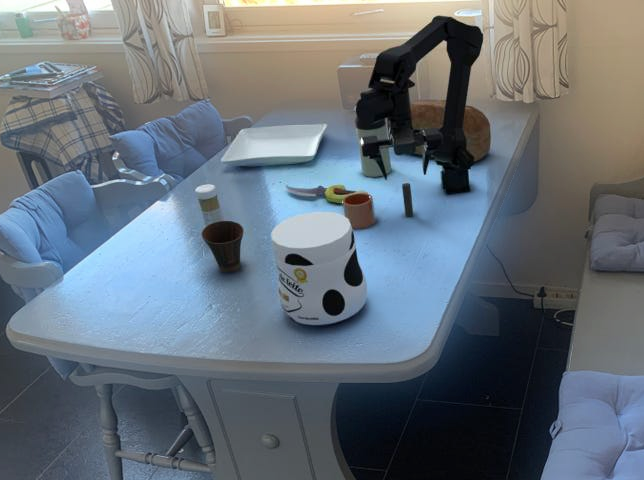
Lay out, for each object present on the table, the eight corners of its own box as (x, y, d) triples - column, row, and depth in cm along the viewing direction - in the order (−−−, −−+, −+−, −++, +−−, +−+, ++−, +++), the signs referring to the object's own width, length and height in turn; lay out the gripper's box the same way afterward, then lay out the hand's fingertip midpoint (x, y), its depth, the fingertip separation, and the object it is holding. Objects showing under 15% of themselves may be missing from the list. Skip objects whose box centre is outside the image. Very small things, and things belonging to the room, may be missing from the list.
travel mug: (396, 172, 208) (389, 106, 197) (371, 180, 205) (362, 113, 194) (382, 163, 213) (373, 99, 203) (357, 171, 210) (347, 106, 199)
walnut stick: (412, 213, 186) (409, 182, 182) (414, 216, 185) (410, 185, 180) (404, 214, 186) (401, 183, 181) (405, 217, 185) (402, 186, 180)
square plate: (317, 167, 215) (314, 154, 212) (222, 173, 216) (218, 160, 214) (329, 133, 236) (327, 121, 234) (243, 139, 238) (240, 127, 235)
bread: (414, 139, 227) (409, 91, 218) (497, 152, 214) (495, 101, 206) (391, 154, 219) (385, 104, 210) (476, 168, 206) (473, 115, 198)
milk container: (267, 327, 149) (246, 245, 139) (310, 283, 162) (294, 205, 151) (345, 340, 144) (330, 256, 133) (383, 293, 156) (372, 213, 146)
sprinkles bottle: (226, 234, 184) (212, 182, 176) (231, 241, 181) (216, 188, 173) (207, 239, 183) (193, 186, 175) (211, 246, 179) (196, 193, 171)
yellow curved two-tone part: (275, 198, 199) (360, 207, 191) (273, 189, 197) (359, 198, 189) (290, 186, 205) (374, 194, 197) (288, 177, 203) (372, 185, 195)
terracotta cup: (373, 213, 188) (370, 191, 184) (376, 226, 182) (373, 203, 178) (344, 217, 187) (341, 195, 183) (346, 230, 181) (343, 207, 177)
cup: (233, 283, 164) (221, 242, 158) (204, 274, 168) (191, 234, 162) (261, 265, 170) (251, 224, 164) (232, 256, 174) (221, 217, 168)
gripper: (359, 128, 163) (369, 196, 172) (445, 117, 165) (450, 184, 174) (355, 112, 172) (365, 177, 181) (436, 102, 174) (442, 166, 183)
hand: (405, 177), depth 180 cm, fingers open, 9 cm apart
